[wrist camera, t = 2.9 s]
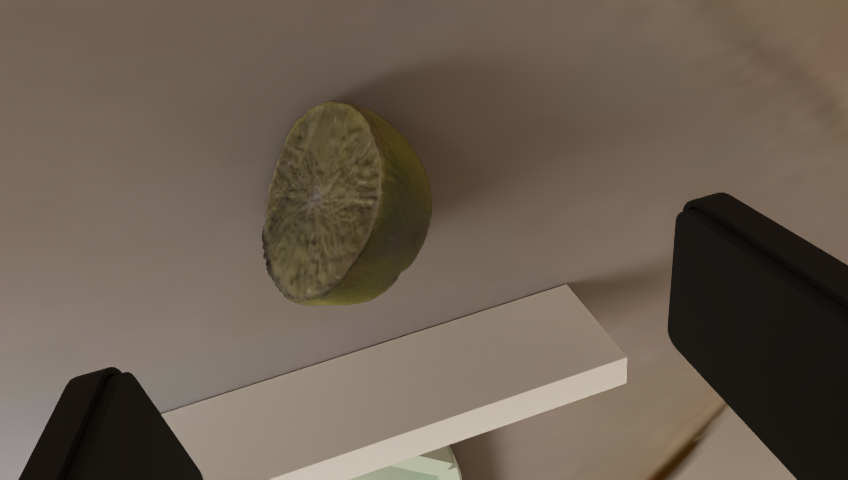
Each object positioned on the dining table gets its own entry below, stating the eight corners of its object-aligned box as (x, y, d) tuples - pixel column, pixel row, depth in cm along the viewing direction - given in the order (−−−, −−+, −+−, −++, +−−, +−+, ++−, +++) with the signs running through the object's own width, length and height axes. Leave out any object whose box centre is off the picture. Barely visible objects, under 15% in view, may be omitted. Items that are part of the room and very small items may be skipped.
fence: (71, 442, 18) (25, 562, 14) (566, 284, 20) (627, 357, 16) (90, 463, 18) (50, 583, 15) (567, 308, 20) (626, 383, 17)
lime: (271, 253, 16) (272, 368, 12) (230, 96, 13) (212, 171, 9) (413, 227, 17) (461, 326, 13) (400, 73, 14) (453, 134, 10)
